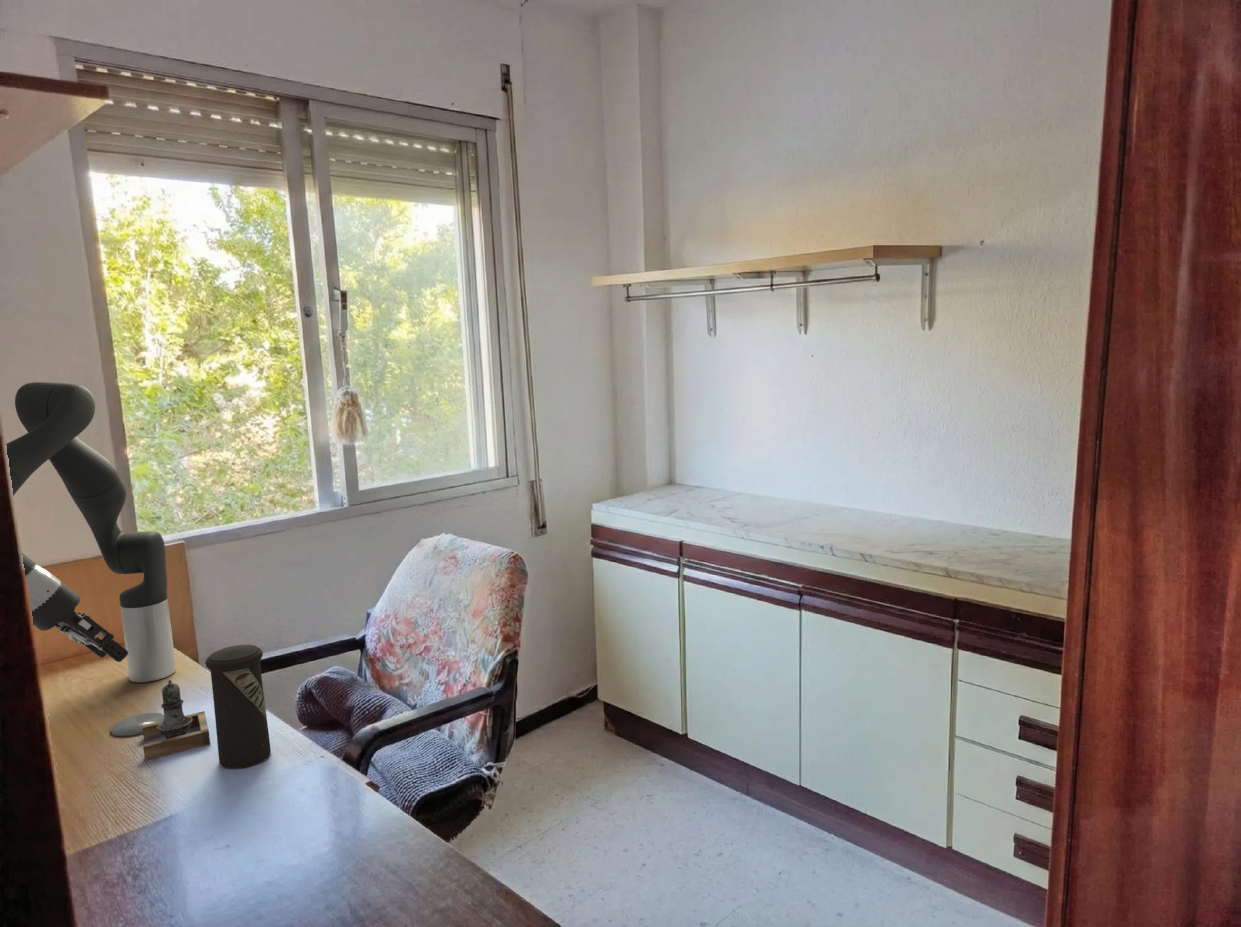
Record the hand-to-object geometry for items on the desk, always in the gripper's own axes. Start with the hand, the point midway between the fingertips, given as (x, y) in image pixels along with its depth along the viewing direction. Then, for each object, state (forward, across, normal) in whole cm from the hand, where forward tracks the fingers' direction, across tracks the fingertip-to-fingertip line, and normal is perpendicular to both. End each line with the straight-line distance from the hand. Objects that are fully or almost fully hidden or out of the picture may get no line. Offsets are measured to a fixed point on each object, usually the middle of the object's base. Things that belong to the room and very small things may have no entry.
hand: (114, 655), depth 141 cm
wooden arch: (+20, 0, +5) cm, 20 cm away
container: (+24, -18, +3) cm, 30 cm away
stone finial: (+20, 0, +5) cm, 20 cm away
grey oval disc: (+17, +13, +5) cm, 22 cm away
